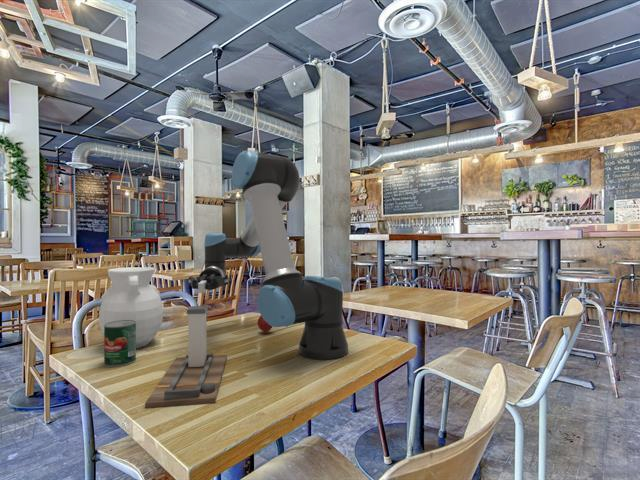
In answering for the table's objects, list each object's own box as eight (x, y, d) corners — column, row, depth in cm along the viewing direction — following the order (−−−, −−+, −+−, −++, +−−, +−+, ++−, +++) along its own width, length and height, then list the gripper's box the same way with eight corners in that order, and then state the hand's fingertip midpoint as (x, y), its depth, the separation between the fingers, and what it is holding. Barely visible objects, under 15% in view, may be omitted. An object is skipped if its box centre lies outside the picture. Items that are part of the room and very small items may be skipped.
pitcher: (100, 341, 120) (100, 267, 120) (160, 334, 129) (160, 265, 129) (97, 358, 103) (97, 272, 103) (166, 348, 113) (165, 269, 112)
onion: (260, 330, 134) (260, 309, 134) (275, 331, 133) (275, 309, 133) (255, 334, 128) (255, 312, 128) (270, 335, 128) (270, 313, 127)
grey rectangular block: (190, 361, 97) (190, 306, 97) (207, 360, 98) (207, 305, 98) (186, 367, 93) (186, 309, 92) (205, 366, 93) (205, 309, 93)
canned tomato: (101, 368, 95) (101, 327, 95) (106, 359, 102) (106, 321, 102) (134, 364, 98) (134, 325, 98) (137, 355, 105) (137, 318, 105)
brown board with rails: (176, 361, 101) (176, 352, 101) (226, 358, 103) (226, 349, 103) (145, 407, 73) (145, 395, 73) (215, 402, 76) (215, 390, 76)
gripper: (230, 288, 126) (224, 300, 103) (192, 288, 124) (176, 301, 101) (230, 267, 126) (224, 275, 103) (192, 267, 124) (176, 275, 100)
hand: (200, 288), depth 102 cm, fingers closed
